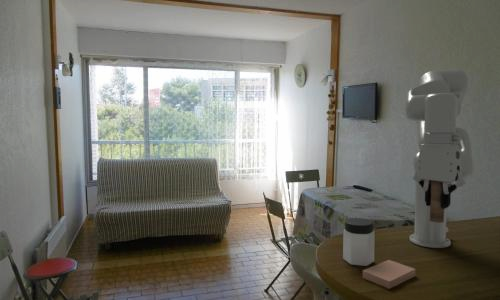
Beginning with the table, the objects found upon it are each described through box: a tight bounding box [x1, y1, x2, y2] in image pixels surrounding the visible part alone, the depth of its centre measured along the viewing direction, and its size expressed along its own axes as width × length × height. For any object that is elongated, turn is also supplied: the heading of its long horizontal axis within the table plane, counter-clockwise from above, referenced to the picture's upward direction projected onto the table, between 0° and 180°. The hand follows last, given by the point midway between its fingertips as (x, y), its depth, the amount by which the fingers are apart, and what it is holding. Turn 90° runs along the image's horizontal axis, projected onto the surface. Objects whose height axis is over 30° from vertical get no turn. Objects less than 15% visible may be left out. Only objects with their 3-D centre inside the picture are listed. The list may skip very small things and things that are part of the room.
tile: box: [362, 259, 416, 290], centre depth 97 cm, size 2×8×12 cm
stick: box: [430, 181, 444, 223], centre depth 98 cm, size 3×3×12 cm
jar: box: [342, 217, 376, 267], centre depth 108 cm, size 9×8×12 cm
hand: (437, 205), depth 98 cm, fingers closed on stick, 3 cm apart
